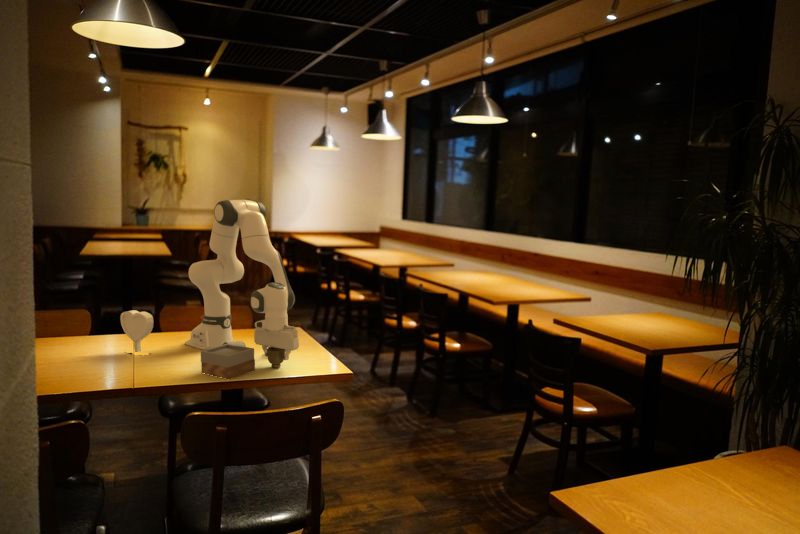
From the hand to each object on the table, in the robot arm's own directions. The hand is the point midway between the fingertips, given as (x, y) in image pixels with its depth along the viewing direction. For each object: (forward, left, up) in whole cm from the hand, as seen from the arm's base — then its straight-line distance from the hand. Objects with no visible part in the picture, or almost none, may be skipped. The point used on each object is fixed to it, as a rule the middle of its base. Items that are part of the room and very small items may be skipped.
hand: (276, 358), depth 238 cm
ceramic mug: (-24, 0, -4) cm, 25 cm away
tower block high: (-12, -15, +1) cm, 19 cm away
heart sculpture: (-62, -16, -4) cm, 64 cm away
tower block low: (-11, -15, -4) cm, 19 cm away
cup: (0, 0, -4) cm, 4 cm away
